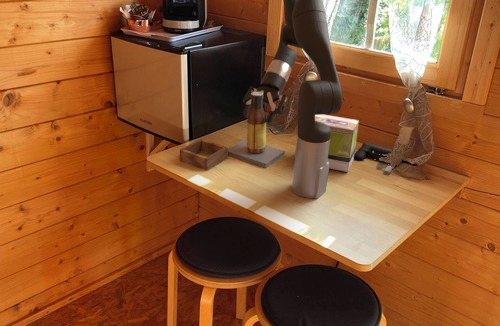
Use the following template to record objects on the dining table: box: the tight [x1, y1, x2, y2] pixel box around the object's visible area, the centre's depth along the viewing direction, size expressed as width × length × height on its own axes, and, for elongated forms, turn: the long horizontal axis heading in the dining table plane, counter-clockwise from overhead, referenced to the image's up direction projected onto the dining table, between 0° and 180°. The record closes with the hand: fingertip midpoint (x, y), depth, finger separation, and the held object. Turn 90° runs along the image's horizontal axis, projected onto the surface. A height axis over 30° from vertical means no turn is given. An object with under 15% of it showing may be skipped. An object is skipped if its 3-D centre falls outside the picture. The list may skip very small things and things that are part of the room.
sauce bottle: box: [246, 92, 267, 154], centre depth 158 cm, size 7×6×20 cm
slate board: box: [228, 138, 286, 169], centre depth 162 cm, size 16×12×2 cm
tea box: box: [315, 114, 360, 173], centre depth 157 cm, size 15×10×15 cm
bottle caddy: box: [179, 138, 229, 172], centre depth 157 cm, size 11×11×4 cm
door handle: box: [353, 141, 394, 176], centre depth 162 cm, size 3×20×16 cm
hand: (256, 119), depth 156 cm, fingers open, 8 cm apart
